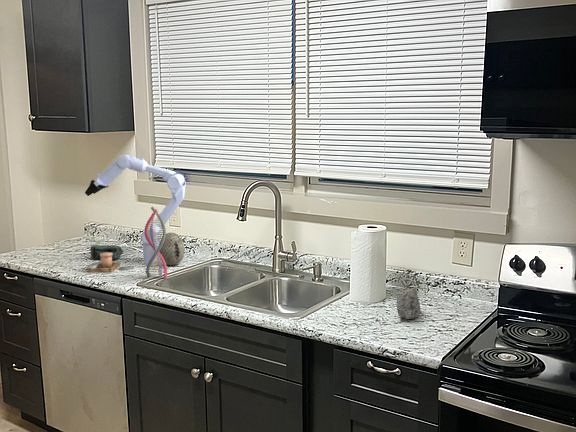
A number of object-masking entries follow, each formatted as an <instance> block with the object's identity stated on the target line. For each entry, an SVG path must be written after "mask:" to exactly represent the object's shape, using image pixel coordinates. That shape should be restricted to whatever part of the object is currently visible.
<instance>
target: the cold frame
mask: <svg viewBox="0 0 576 432" xmlns="http://www.w3.org/2000/svg"><path fill="white" fill-rule="evenodd" d="M120 267H121V262H120V261H112V267H110V268H101V260H95V261H94V262H92V263H90V264H89V265H88V266H86V267H85V269H86V270H88V273H104V274H105V273H106V274H107V273H109V274H110V273H113V272H114V271H115V270H117V269H119V268H120Z"/></svg>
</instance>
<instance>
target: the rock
mask: <svg viewBox="0 0 576 432" xmlns="http://www.w3.org/2000/svg"><path fill="white" fill-rule="evenodd" d="M420 304H421V303H420V298H419V295H418V291H417V288H416V287H411V288H409V289H405V290H402V291H401V292H399V293H397V294H396V309H397V313H398V316H399V318H400V319H401V318H404V319H405V320H411V319H413V320H414V319H417V318H418V317H420V314H421V305H420ZM419 313H420V314H419Z"/></svg>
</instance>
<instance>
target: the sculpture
mask: <svg viewBox="0 0 576 432" xmlns="http://www.w3.org/2000/svg"><path fill="white" fill-rule="evenodd" d="M89 250H90V260H92V261H93V260H97V259H99V258H100V259H101V257H100V253H104V252H111V253H112V254H113V256H112V261H117V260H119V259H120V258H121V255H123V254H124V250H123V249H122V247H121V245H111V244H110V245H107V244H105V245H98V244H93V245H91V246H90V249H89Z"/></svg>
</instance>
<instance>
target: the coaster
mask: <svg viewBox="0 0 576 432" xmlns="http://www.w3.org/2000/svg"><path fill="white" fill-rule="evenodd" d="M134 269H135V266H129V265H128V266H127V265H125V266H119V267H118V270H119V271H123V272H125V271H131V270H134Z"/></svg>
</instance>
